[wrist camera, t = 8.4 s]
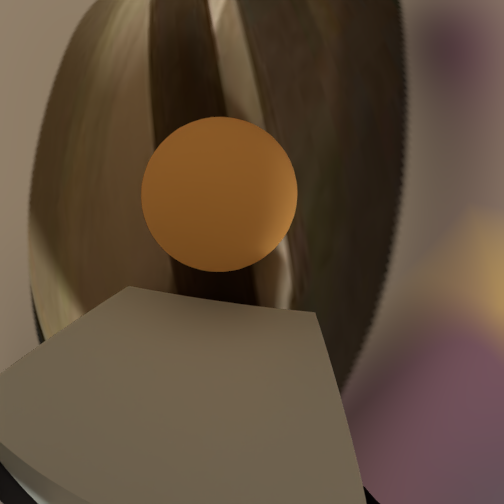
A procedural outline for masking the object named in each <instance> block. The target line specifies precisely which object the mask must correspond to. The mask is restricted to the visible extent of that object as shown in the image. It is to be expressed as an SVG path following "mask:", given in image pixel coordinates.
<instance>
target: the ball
mask: <svg viewBox="0 0 504 504" xmlns="http://www.w3.org/2000/svg"><path fill="white" fill-rule="evenodd" d="M141 203H142V210H143V214H144V218H145V221H146V224H147V226H148V228H149V230H150V232H151V234H152V236H153V237H154V239H155V240H156V241H157V243H158V244H159V245H160V246H161V247H162V248H163V249H164V250H165V251H166V252H167V253H168V254H169V255H170V256H172V257H173V258H174V259H176V260H177V261H179V262H181V263H183V264H185V265H187V266H190V267H192V268H195V269H199V270H203V271H210V272H226V271H234V270H238V269H241V268H244V267H247V266H249V265H252V264H254V263H256V262H258V261H259V260H261V259H262V258H264V257H265V256H266V255H268V254H269V253H270V252H271V251H272V250H273V249H274V248H276V246H277V245H278V244H279V243H280V241H281V240H282V239H283V238H284V236H285V235H286V233H287V231H288V229H289V227H290V225H291V222H292V220H293V217H294V214H295V210H296V204H297V182H296V178H295V173H294V169H293V167H292V164H291V162H290V160H289V158H288V156H287V154H286V152H285V151H284V150H283V148H282V147H281V146H280V144H279V143H278V142H277V141H276V140H275V139H274V138H273V137H272V136H271V135H270V134H268V133H267V132H266V131H264V130H263V129H261V128H260V127H258V126H256V125H254V124H252V123H249V122H247V121H244V120H240V119H236V118H229V117H209V118H204V119H200V120H197V121H193V122H191V123H188V124H186V125H184V126H182V127H180V128H179V129H177V130H176V131H174V132H173V133H171V134H170V135H169V136H168V137H167V138H166V139H165V140H164V141H163V142H162V143H161V144H160V145H159V146H158V148H157V149H156V150H155V152H154V153H153V155H152V157H151V158H150V160H149V162H148V164H147V167H146V170H145V173H144V176H143V181H142V187H141Z"/></svg>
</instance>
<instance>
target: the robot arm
mask: <svg viewBox="0 0 504 504" xmlns="http://www.w3.org/2000/svg"><path fill="white" fill-rule="evenodd" d="M363 489H364V494H365V498H366V503H367V504H380V503H379V502H378V501H376V500H375V498H374V497H373V496H372V495H371V494H370V493H369V492H368V490H367V489H366V488H365V487H364V486H363ZM0 504H38V503H37V502H36V501H35V500H34V499H33V498H32V497H31V496H30V495H29V494H28V493H27V492H26V491H25V490H24V489H23V488H22V487H21V485H20V484H19V483H18V482H17V481H16V480H15V479H14V478H13V476H12V475H11V474H10V473H9V472H8V470H7V469H6V468H5V467H4V466H3V464H2V463H1V462H0Z"/></svg>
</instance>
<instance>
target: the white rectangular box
mask: <svg viewBox="0 0 504 504" xmlns="http://www.w3.org/2000/svg"><path fill="white" fill-rule="evenodd" d="M0 462H1V463H2V464H3V466H4V467H5V468H6V469H7V470H8V472H9V473H10V474H11V475H12V476H13V478H14V479H15V480H16V481H17V482H18V483H19V484H20V485H21V487H22V488H23V489H24V490H25V491H26V492H27V493H28V494H29V495H30V496H31V497H32V498H33V499H34V500H35V501H36V502H37V503H38V504H367V503H366V498H365V494H364V489H363V484H362V481H361V476H360V471H359V467H358V463H357V459H356V455H355V451H354V447H353V443H352V439H351V435H350V431H349V427H348V423H347V419H346V416H345V412H344V408H343V405H342V401H341V397H340V394H339V390H338V387H337V383H336V380H335V376H334V373H333V369H332V366H331V363H330V359H329V356H328V353H327V349H326V346H325V343H324V339H323V336H322V333H321V330H320V327H319V323H318V320H317V317H316V314H315V312H305V311H295V310H286V309H277V308H268V307H260V306H252V305H244V304H237V303H229V302H222V301H215V300H209V299H202V298H196V297H189V296H183V295H177V294H171V293H165V292H160V291H154V290H148V289H143V288H138V287H132V286H127V287H126V288H124V289H123V290H121V291H120V292H118V293H116V294H115V295H113V296H112V297H110V298H109V299H107V300H106V301H104V302H103V303H101V304H100V305H98V306H96V307H95V308H93V309H92V310H90V311H89V312H87V313H86V314H84V315H83V316H81V317H80V318H78V319H77V320H75V321H74V322H72V323H71V324H70V325H68V326H67V327H65V328H64V329H62V330H61V331H59V332H58V333H56V334H55V335H53V336H52V337H51V338H49V339H48V340H46V341H45V342H43V343H42V344H41V345H39V346H38V347H36V348H35V349H33V350H32V351H31V352H29V353H28V354H26V355H25V356H24V357H22V358H21V359H20V360H18V361H17V362H15V363H14V364H13V365H11V366H10V367H9V368H7V369H6V370H5V371H3V372H2V373H1V374H0Z"/></svg>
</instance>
